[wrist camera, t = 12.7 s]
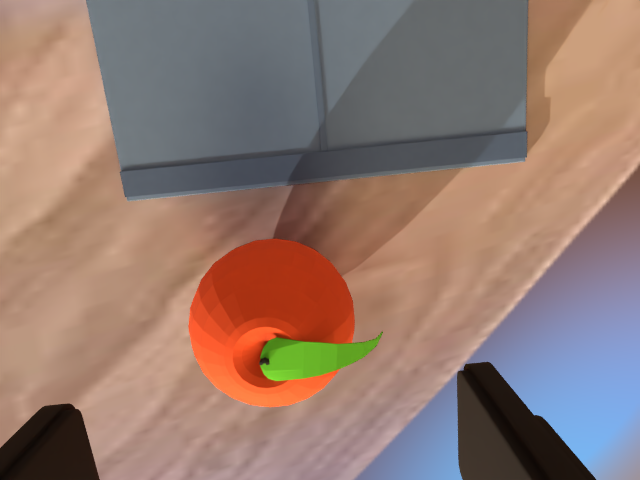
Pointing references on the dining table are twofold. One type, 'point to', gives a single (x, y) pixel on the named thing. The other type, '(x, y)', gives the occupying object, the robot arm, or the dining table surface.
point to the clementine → (273, 323)
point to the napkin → (308, 89)
